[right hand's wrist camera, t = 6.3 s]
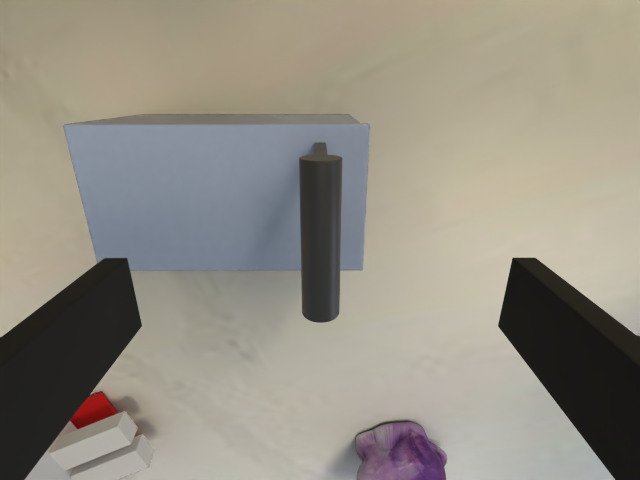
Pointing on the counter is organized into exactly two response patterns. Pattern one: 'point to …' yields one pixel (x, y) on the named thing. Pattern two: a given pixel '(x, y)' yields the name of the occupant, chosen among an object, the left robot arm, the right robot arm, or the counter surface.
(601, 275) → the counter surface
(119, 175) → the door
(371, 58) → the counter surface
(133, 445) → the toy
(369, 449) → the figurine
